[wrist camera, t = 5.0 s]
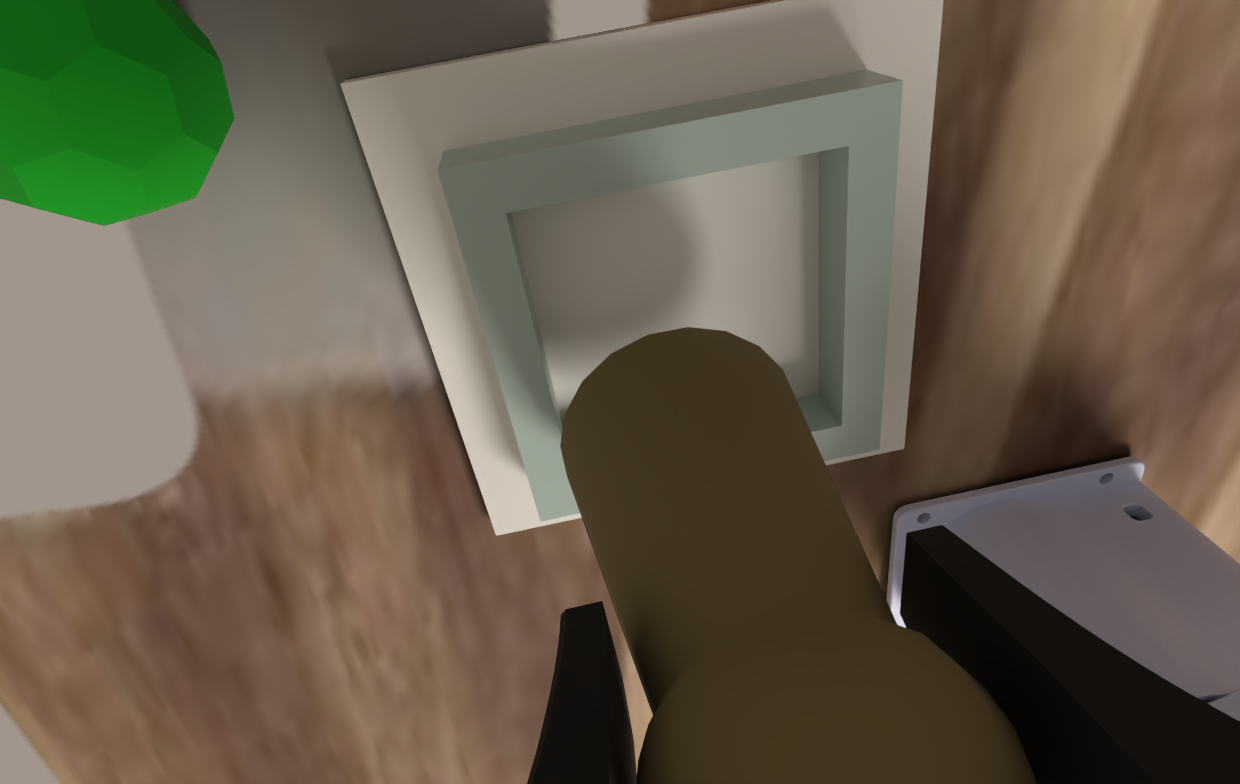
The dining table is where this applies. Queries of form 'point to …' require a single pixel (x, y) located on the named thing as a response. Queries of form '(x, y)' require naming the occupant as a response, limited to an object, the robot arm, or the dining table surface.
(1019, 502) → the robot arm
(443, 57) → the dining table surface
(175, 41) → the polyhedron
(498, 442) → the socket block
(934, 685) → the cork
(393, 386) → the dining table surface
